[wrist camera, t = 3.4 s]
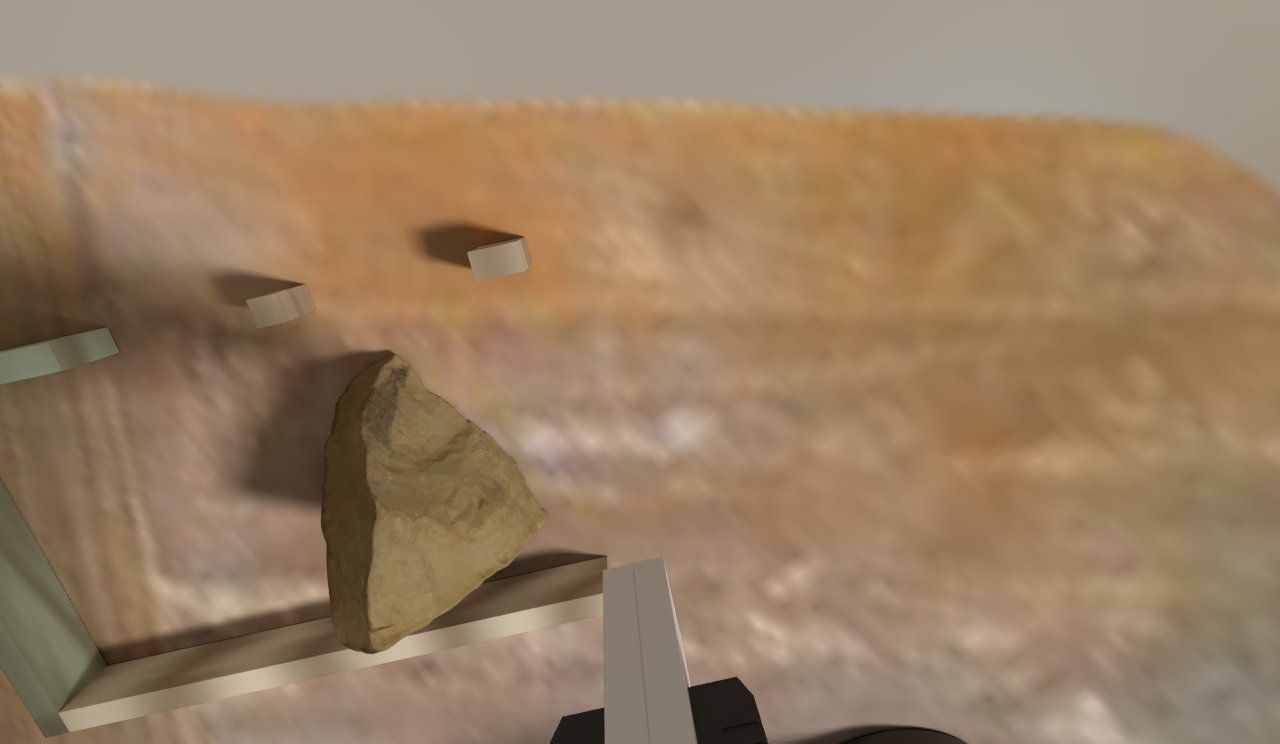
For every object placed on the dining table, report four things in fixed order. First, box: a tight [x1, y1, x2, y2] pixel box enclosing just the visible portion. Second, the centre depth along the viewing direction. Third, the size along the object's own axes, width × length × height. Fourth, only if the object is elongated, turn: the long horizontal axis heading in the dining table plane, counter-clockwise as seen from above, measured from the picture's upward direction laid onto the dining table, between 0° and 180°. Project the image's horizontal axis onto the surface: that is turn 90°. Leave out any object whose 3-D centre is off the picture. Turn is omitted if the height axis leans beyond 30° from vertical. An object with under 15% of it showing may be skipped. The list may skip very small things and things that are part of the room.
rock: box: [321, 354, 548, 654], centre depth 26 cm, size 11×9×10 cm
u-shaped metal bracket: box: [0, 237, 610, 738], centre depth 28 cm, size 28×18×3 cm, turn 102°
